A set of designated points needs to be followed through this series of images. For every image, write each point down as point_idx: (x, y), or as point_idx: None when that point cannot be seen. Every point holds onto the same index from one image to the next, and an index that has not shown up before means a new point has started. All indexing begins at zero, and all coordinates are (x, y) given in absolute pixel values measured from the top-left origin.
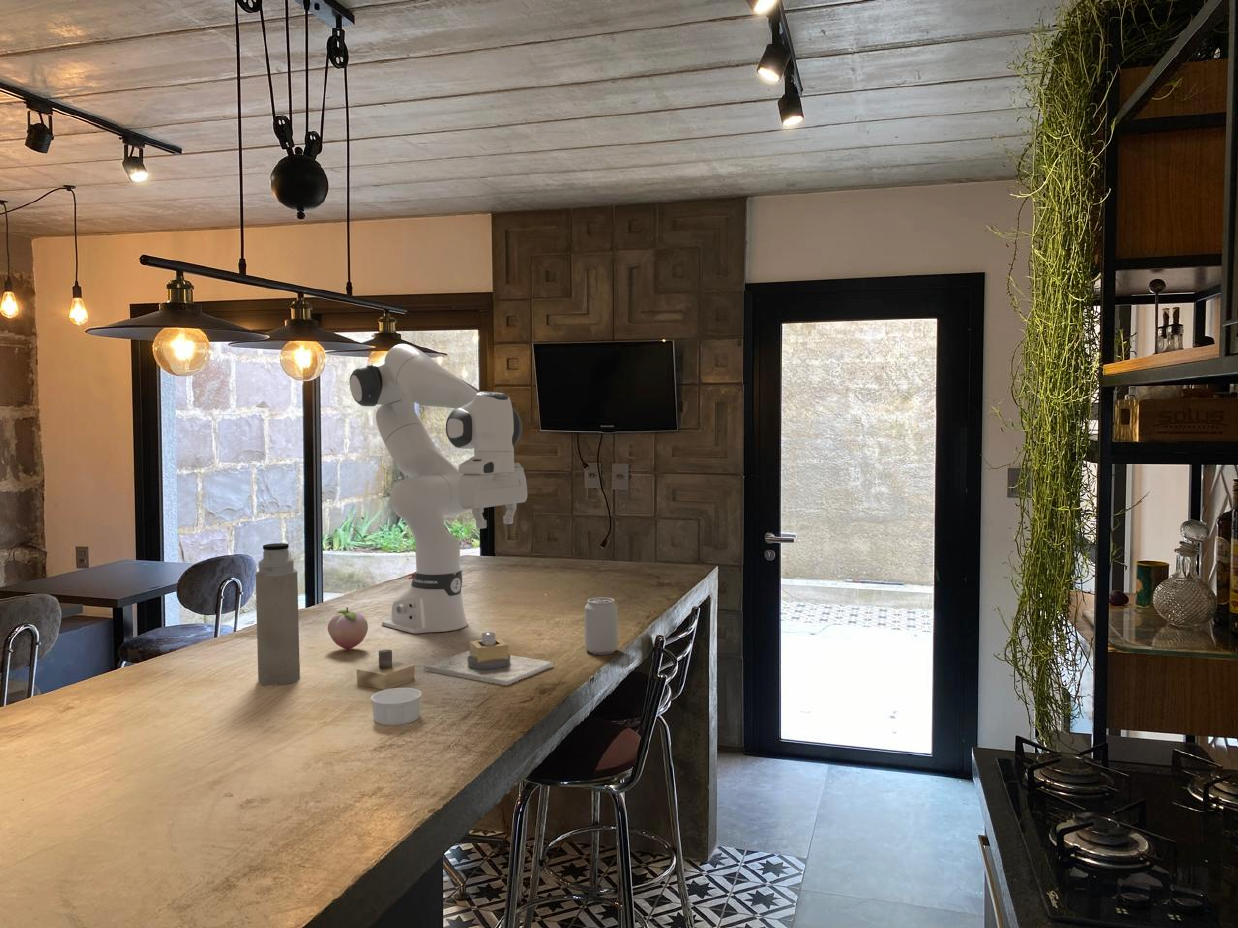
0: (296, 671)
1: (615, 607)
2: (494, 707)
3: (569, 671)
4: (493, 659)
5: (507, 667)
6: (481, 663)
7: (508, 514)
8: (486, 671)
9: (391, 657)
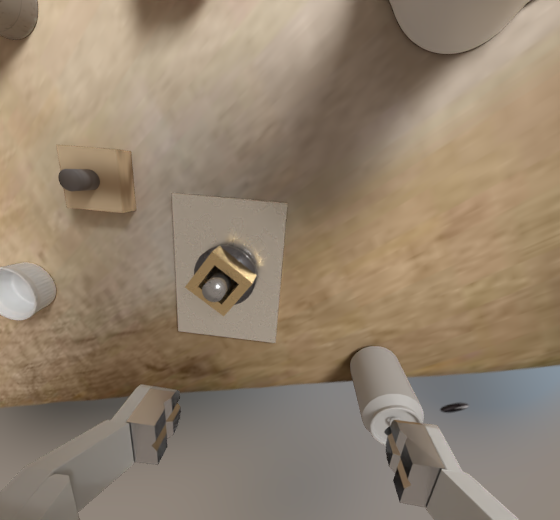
0: (7, 29)
1: None
2: (119, 350)
3: (266, 363)
4: None
5: None
6: None
7: (442, 499)
8: None
9: (82, 190)
